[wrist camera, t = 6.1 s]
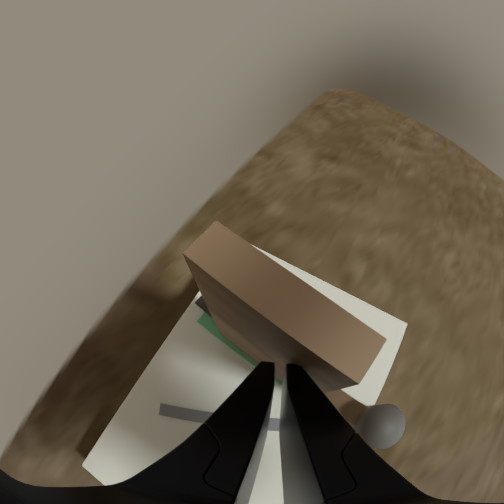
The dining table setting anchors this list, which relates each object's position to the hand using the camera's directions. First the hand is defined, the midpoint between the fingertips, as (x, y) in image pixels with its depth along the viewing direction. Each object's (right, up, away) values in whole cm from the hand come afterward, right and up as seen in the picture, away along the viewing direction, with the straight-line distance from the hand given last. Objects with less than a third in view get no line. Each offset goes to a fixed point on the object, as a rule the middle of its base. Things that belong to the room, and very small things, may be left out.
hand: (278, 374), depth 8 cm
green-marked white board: (-1, -5, +5) cm, 7 cm away
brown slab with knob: (+1, -2, +5) cm, 5 cm away
